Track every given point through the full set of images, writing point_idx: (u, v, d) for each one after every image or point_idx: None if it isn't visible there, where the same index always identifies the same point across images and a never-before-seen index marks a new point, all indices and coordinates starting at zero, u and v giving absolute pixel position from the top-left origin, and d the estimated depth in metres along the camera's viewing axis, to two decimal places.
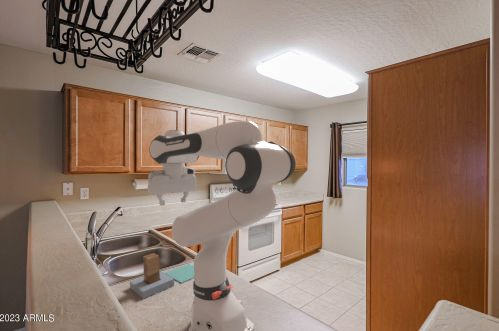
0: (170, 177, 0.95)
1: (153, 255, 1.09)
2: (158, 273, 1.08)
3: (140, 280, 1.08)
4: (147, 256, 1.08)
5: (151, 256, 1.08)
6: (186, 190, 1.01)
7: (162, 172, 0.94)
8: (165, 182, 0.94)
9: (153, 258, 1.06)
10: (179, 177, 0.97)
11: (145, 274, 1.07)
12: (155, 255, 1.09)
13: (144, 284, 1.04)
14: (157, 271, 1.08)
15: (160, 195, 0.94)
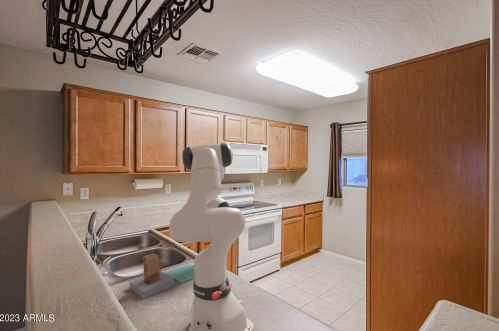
0: None
1: (153, 255, 1.09)
2: (158, 273, 1.08)
3: (140, 280, 1.08)
4: (147, 256, 1.08)
5: (151, 256, 1.08)
6: None
7: None
8: None
9: (153, 258, 1.06)
10: None
11: (145, 274, 1.07)
12: (155, 255, 1.09)
13: (144, 284, 1.04)
14: (157, 271, 1.08)
15: None
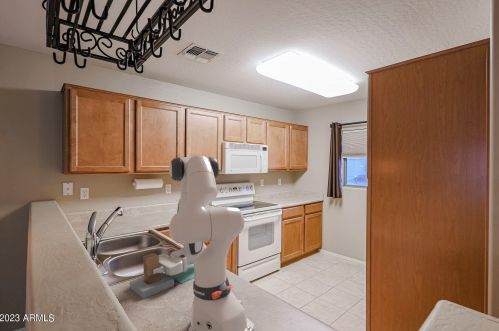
0: None
1: (153, 255, 1.09)
2: (158, 273, 1.08)
3: (140, 280, 1.08)
4: (147, 256, 1.08)
5: (151, 256, 1.08)
6: (165, 264, 1.08)
7: None
8: (164, 257, 1.17)
9: (153, 258, 1.06)
10: (172, 256, 1.15)
11: (145, 274, 1.07)
12: (155, 255, 1.09)
13: (144, 284, 1.04)
14: None
15: None
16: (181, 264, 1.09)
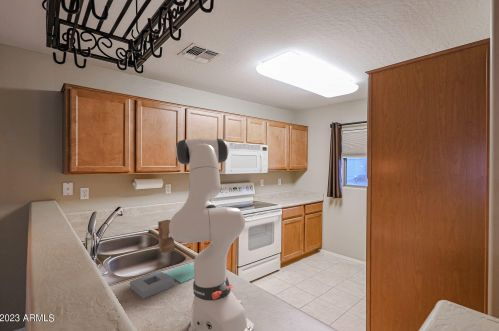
0: None
1: (167, 220, 1.15)
2: None
3: (140, 280, 1.08)
4: (162, 221, 1.14)
5: (166, 221, 1.13)
6: None
7: None
8: None
9: (167, 223, 1.12)
10: None
11: (160, 238, 1.13)
12: (169, 220, 1.14)
13: (144, 284, 1.04)
14: None
15: None
16: None
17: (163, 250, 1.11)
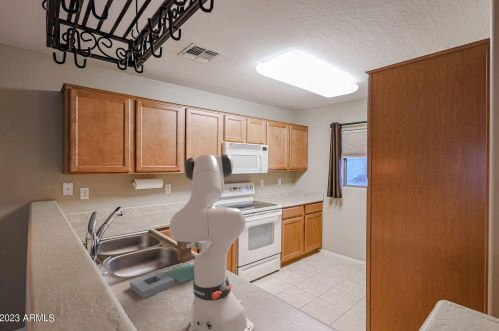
0: None
1: None
2: (190, 248, 1.21)
3: (140, 280, 1.08)
4: None
5: None
6: None
7: None
8: None
9: None
10: None
11: (179, 249, 1.20)
12: None
13: (144, 284, 1.04)
14: None
15: None
16: (210, 240, 1.22)
17: (181, 260, 1.18)
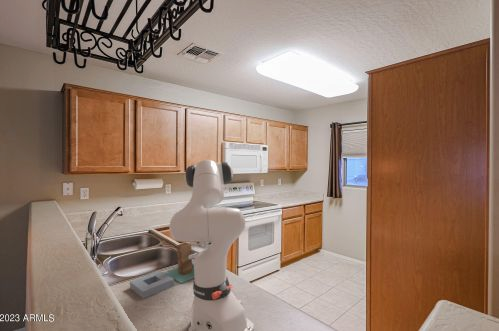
0: None
1: (185, 244, 1.22)
2: (190, 260, 1.20)
3: (140, 280, 1.08)
4: (181, 245, 1.20)
5: (184, 245, 1.20)
6: (197, 250, 1.20)
7: None
8: (193, 245, 1.30)
9: (186, 246, 1.19)
10: (202, 243, 1.27)
11: (179, 261, 1.19)
12: (188, 244, 1.21)
13: (144, 284, 1.04)
14: None
15: None
16: None
17: (182, 272, 1.18)
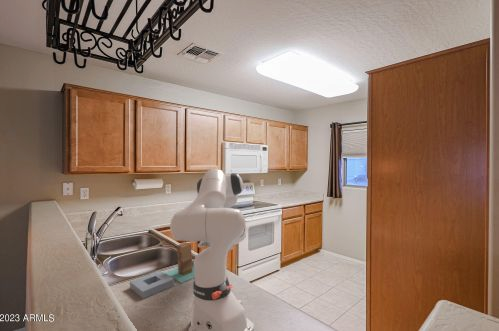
0: None
1: (185, 244, 1.22)
2: (190, 260, 1.20)
3: (140, 280, 1.08)
4: (181, 245, 1.20)
5: (184, 245, 1.20)
6: None
7: None
8: None
9: (186, 246, 1.19)
10: None
11: (179, 261, 1.19)
12: (188, 244, 1.21)
13: (144, 284, 1.04)
14: (190, 258, 1.20)
15: (203, 241, 1.36)
16: None
17: (182, 272, 1.18)
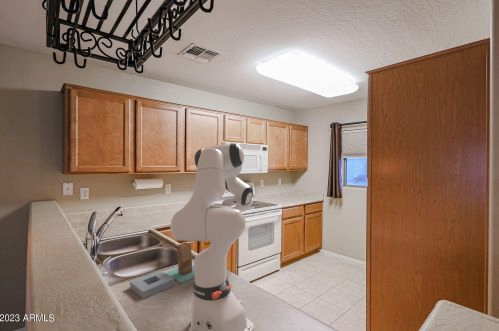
0: None
1: (185, 244, 1.22)
2: (190, 260, 1.20)
3: (140, 280, 1.08)
4: (181, 245, 1.20)
5: (184, 245, 1.20)
6: (223, 207, 1.26)
7: None
8: (217, 204, 1.35)
9: (186, 246, 1.19)
10: (226, 202, 1.33)
11: (179, 261, 1.19)
12: (188, 244, 1.21)
13: (144, 284, 1.04)
14: (190, 258, 1.20)
15: None
16: (236, 207, 1.27)
17: (182, 272, 1.18)
